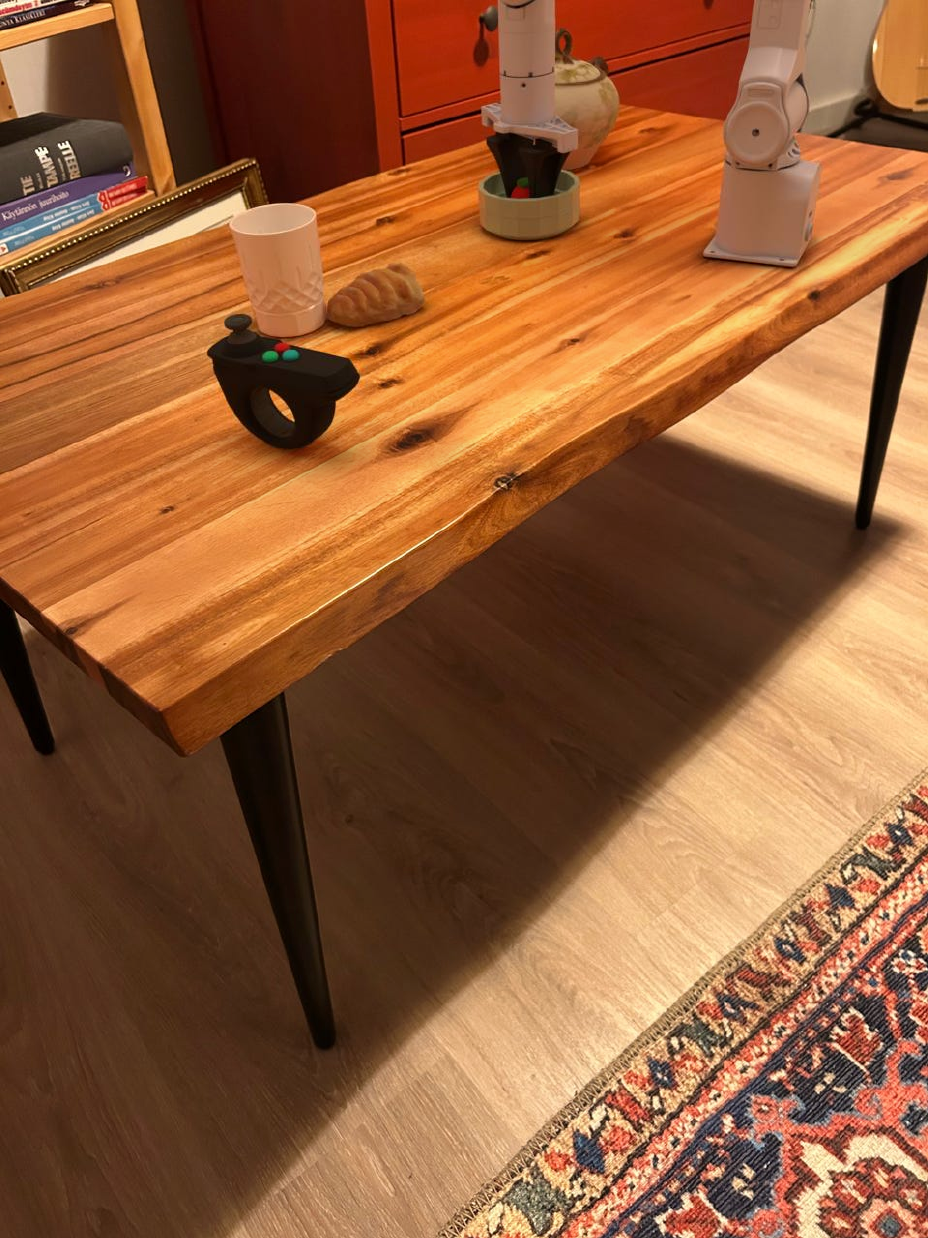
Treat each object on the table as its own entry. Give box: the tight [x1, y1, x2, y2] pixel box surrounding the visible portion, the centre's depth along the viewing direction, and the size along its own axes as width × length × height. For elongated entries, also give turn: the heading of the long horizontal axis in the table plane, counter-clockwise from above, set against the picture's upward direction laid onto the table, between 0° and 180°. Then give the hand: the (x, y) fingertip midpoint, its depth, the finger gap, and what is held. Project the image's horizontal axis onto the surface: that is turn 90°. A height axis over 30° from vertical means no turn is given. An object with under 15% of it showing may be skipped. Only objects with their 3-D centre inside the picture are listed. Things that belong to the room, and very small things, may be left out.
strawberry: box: [511, 177, 530, 199], centre depth 109 cm, size 4×4×4 cm
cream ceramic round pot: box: [533, 27, 621, 171], centre depth 122 cm, size 20×15×15 cm
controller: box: [206, 313, 361, 451], centre depth 74 cm, size 4×12×10 cm, turn 61°
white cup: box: [228, 202, 328, 338], centre depth 91 cm, size 8×8×10 cm
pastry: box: [326, 262, 425, 329], centre depth 94 cm, size 9×7×4 cm
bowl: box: [477, 170, 581, 241], centre depth 109 cm, size 11×11×4 cm
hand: (528, 206), depth 109 cm, fingers closed on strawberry, 4 cm apart
